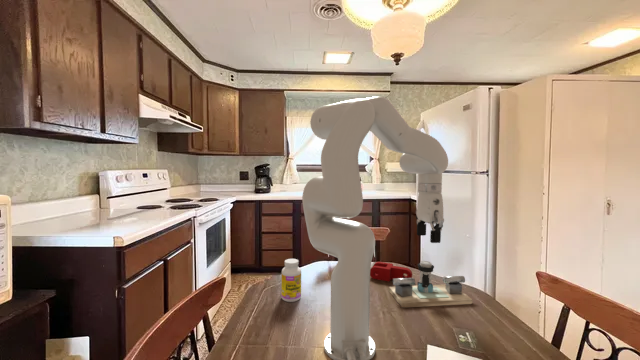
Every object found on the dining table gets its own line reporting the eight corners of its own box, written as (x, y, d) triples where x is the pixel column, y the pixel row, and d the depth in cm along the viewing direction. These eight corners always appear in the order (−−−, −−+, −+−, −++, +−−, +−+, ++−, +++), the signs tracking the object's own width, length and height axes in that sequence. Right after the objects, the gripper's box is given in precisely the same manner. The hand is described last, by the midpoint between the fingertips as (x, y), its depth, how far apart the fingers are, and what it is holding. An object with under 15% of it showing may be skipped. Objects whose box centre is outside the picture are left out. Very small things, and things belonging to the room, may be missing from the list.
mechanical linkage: (369, 278, 114) (369, 266, 114) (373, 272, 120) (373, 260, 120) (410, 285, 107) (411, 272, 107) (412, 278, 114) (413, 266, 114)
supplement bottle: (282, 303, 92) (282, 265, 92) (280, 294, 99) (280, 258, 98) (303, 301, 94) (303, 263, 93) (299, 292, 100) (299, 256, 100)
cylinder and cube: (467, 294, 97) (467, 278, 96) (396, 297, 94) (396, 281, 94) (458, 288, 101) (459, 273, 101) (391, 291, 98) (391, 276, 98)
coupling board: (472, 303, 93) (472, 298, 93) (402, 307, 90) (402, 301, 90) (451, 288, 105) (451, 283, 105) (388, 290, 102) (388, 286, 102)
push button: (434, 288, 100) (435, 260, 100) (439, 295, 95) (440, 265, 95) (415, 287, 101) (416, 259, 101) (418, 294, 96) (419, 265, 95)
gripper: (454, 190, 87) (452, 245, 88) (427, 186, 104) (426, 232, 105) (431, 190, 87) (429, 246, 87) (408, 186, 104) (406, 233, 104)
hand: (428, 238), depth 96 cm, fingers open, 9 cm apart
